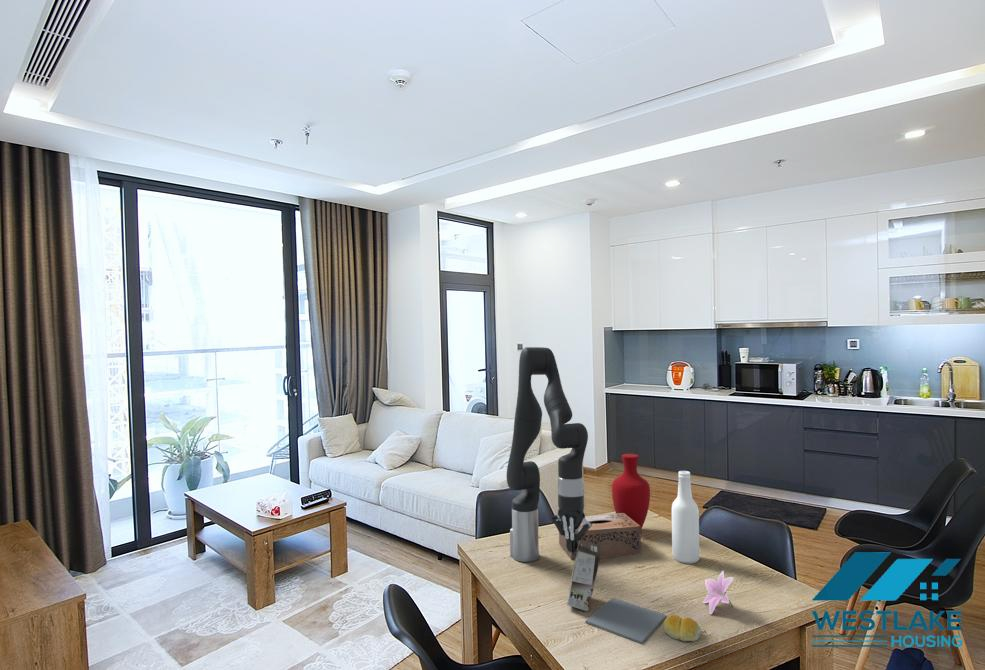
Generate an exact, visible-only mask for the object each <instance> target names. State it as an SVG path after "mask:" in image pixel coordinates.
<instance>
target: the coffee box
mask: <svg viewBox="0 0 985 670" xmlns="http://www.w3.org/2000/svg"><path fill="white" fill-rule="evenodd" d="M600 560H601V557H600V545H598V544H595V543H591V542H586V541H582V540H579V544H578V549H577V553H576V558H575V560H574V564H573V568H572V573H571V577H570V583H569V587H568V593H567V601H566V603H567V604H566V605H567V606H568V607H572V608H575V609H579V610H582V611H585V612H589V609H590V605H591V601H592V596H593V593H594V587H595V586H594V585H595V582H596V578H597V573H598V569H599V565H600Z"/></svg>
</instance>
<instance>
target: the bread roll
mask: <svg viewBox="0 0 985 670" xmlns="http://www.w3.org/2000/svg"><path fill="white" fill-rule="evenodd" d="M663 630H664V632H665V633H666V635H668V636H669V637H670V638H672V639H674V640H681V641H682V642H686V641H692V642H697V640H699V638H700V635H701V626H700V625H699V623H698V622H697V621H696V620H694V619H693V618H691V617H682V616H680V615H677V614H671V615H669V616H666V618H665V619H664V620H663Z"/></svg>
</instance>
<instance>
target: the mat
mask: <svg viewBox="0 0 985 670" xmlns="http://www.w3.org/2000/svg"><path fill="white" fill-rule="evenodd" d="M666 618H667V615H666V614H664V613H661V612H658V611H655V610H651V609H649V608H646V607H642V606H640V605H636V604H634V603H630V602H627V601H624V600H621V599H619V598H615V597H611V598H610V599H609V600H608V601H607V602H605V604H603V605H602V606H601V607H600V608H599V609H597V610H596V611H595V612H594V613H593V614H591V615H590V616H589V617H588V618H587V619H586V620H585V624H588V625H590V626H592V627H596V628H599V629H600V630H603V631H606V632H609V633H612V634H614V635H617V636H620V637H622V638H625V639H627V640H631V641H633V642H635V643H638V644H641V645H643V643H644V642H646V640H647V639H648V637H650V636H651V634H652V633H653V632H654V631H656V629H657V628H658V626H659V625H660V624H661V623H662V622H664V621H665V619H666Z"/></svg>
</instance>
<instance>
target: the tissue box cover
mask: <svg viewBox="0 0 985 670" xmlns="http://www.w3.org/2000/svg"><path fill="white" fill-rule="evenodd" d="M585 519H586V520H587V521H588V522H591V523H592V526H591V527H590V529H589V530H588V531H587V532H586V534H585V535H584V536H583V537H581V538H580V539H578V540H577V549H578V544H579V540H582V541H586V542H591V543H595V544H598V545H600V558H607V557H617V556H630V555H639V554H642V540H641V539H642V537H641V536H642V535H641V534H642V533H641V531H642V529H641V526H640V525H638V524H637V523H636V522H635V521H633V520H632V519H631V518H630V517H628V516H627V515H626V514H624V513H616V512H615V513H607V514H593V515H585ZM581 529H582V523H581V525H580V526H579V531H580V530H581ZM579 531H578V532H579ZM558 544H559V546H560V547H561V548H562V550H563V551H564V552H565V554H566V556H567V557H568V558H569V559H570V561H575V558H576V553H577V550H576V551H575V552H573V553H572V552H568V549H567V547H566V537H565V536H564V535H561V534H560V533H559V532H558Z"/></svg>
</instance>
